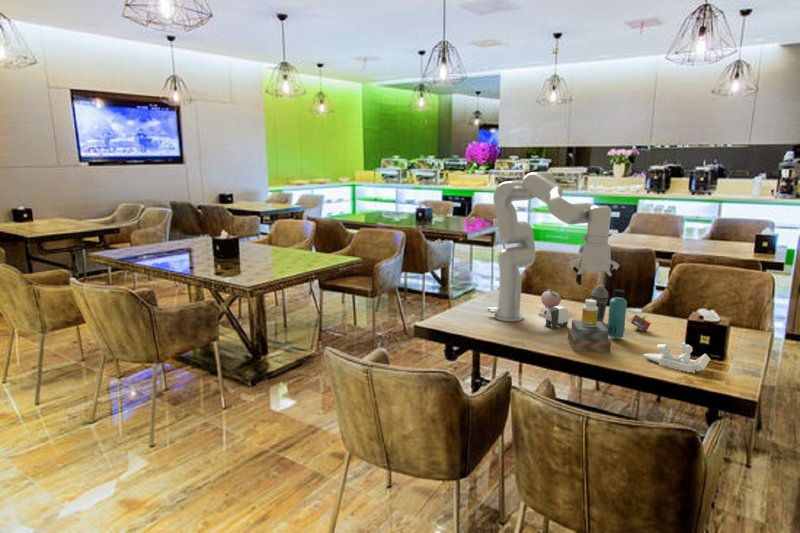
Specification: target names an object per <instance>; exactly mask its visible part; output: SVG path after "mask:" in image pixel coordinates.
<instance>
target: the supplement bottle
mask: <svg viewBox="0 0 800 533" xmlns="http://www.w3.org/2000/svg"><path fill="white" fill-rule="evenodd" d="M596 303H597V301H596V300H593V299H591V298H590V299H589V298H588V299H587V298H586V299H585V301H584V305H583V306H582V311H581V312H582V313H581V314H582V315H581V321H582V325H583V326H586V327H595V326H596V325H597V315H598V307H597V306H596Z"/></svg>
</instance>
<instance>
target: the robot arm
mask: <svg viewBox="0 0 800 533" xmlns="http://www.w3.org/2000/svg"><path fill="white" fill-rule="evenodd" d="M556 180H557V179H556V178H555V176H554V175H553V174H552V172H551V173H550V172H549V171H532V172H529V173H527V174H526V175H525V176H524V177H523V179H522V180H507V181H503V182H501V183H499V184H498V185H497V187H495V189H494V192H493V204H494V209H495V212H496V220H497V221H496V222H497V230H498V237H499V241H500V242H501V243H502V244H504V245H514V244H516V246H512V247H506V248H503V249H501V251H500V252H499V253H498V255H497V263H498V264H497V265H498V271H499V272H498V273H499V276H498V277H499V280H498V281H499V282H498V283H499V284H498V285H499V286H498V301H497V302H498V303H497V304H498V305H496V306H494V307H489V306H488V307H487V312H488V313H490V314H494V315H493V317H494V319H496V320H498V321H502V322H508V323H509V322H511V323H512V322H514V323H515V322H520V321H523V319H524V315H523V314H522V313H520V312H521V297H522V296H521V295H522V275H521V272H520V270H519V269H521V268H528V267H530V266H532V265H533V264H534V263H535V260H536V248H535V247H536V246H535V238H534V230H533V228H532V226H531V225H530V224H529V222H527V221H523V220H520V221H519V220H518V214H517V210H516V207H515V205H514V204H513V203H512V202H517V201H529V200H533V199H536V198H537V199H538V200H540V201H541V202H542V203H544V204H545V205H546V206H547V209H548V211H549V213H551V214H552V216H554V217H555V218H557V219H558V220H560V221H561V222H563V223H565V224H568V225H579V224H587V229H586V234H585V235H583V236H582V237H581V239H582V240H583V241H585V242H583V244H582V248H581V253H580V257H579V258H578V257H577V258H576V259H574V260H571V261H570V263H569V264H570V266H571V268H572V270H573V271H574V272H575V273H576V277H575V278H576V279H575V282H576V283H577V286H582V276H583V275H582V273H583V272H584V271H586V272H587V271H588V272H605V274H604V277H603V278H604V280H603V285H604V287H607V288H608V287H609V284H610V283H611V276H612V275H613V274H615V273H616V272H617V270H618V268H619V267H620V264H619V263H617V262H616V261H614V260H612V258H611V255H612V254H611V243H610V244H609V236H610V226H611V217H612V209H611V207H610V206H608V205H597V204H593V203H588V202H579V203H571V202H570V201H567V200H566V199H563V194H564V191H563V188H562V187H561V185H559V184H557V181H556ZM578 263H579V267H578V268H577V267H576V264H578ZM611 265H612V266H613V267H612V268H611Z"/></svg>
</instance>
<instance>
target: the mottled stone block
mask: <svg viewBox="0 0 800 533" xmlns="http://www.w3.org/2000/svg"><path fill="white" fill-rule="evenodd" d="M567 341H568V343H569V344H570V346H571V348H572V350H573V351H575V352H593V353H608V352H610V353H611V346H612V342H611V340H610V339H609V336H608V330H607V326H605V324H604V322H603V323H602V322H601V321H597V325H596V326H595V327H586V326H583V325H582V320H579V319H578V320H576V319H572V320H571V327H570V328H568V329H567Z"/></svg>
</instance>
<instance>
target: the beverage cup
mask: <svg viewBox="0 0 800 533" xmlns="http://www.w3.org/2000/svg"><path fill="white" fill-rule="evenodd" d="M603 278H604V277H601V279H600V281H601V282H600V286H596V287H595V288H593V290H592V291H591V294H590V299H593V300H596V301H597V303H596V306H597V307H598V315H597V321H601V322H602V323H603V324H604V320H605V315H606V309H607V304H608V300H609V298H610V297H609V292H608V290H607V289H606V288H605V287H603V282H604V280H603Z"/></svg>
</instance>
